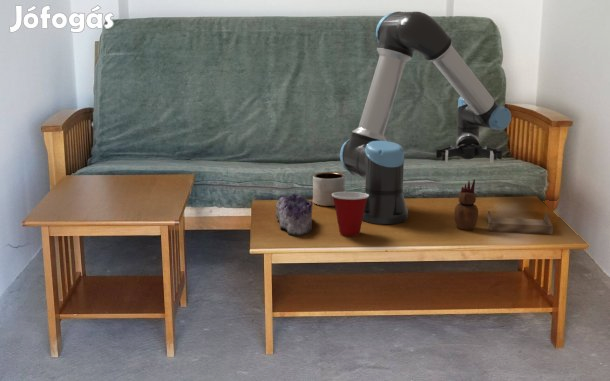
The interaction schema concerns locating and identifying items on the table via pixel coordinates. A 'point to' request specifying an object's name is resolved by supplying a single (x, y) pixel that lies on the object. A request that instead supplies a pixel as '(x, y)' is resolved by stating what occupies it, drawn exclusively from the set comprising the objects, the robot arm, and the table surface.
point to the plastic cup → (349, 211)
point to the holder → (520, 225)
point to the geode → (294, 214)
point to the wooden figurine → (466, 208)
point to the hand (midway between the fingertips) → (469, 159)
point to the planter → (327, 187)
